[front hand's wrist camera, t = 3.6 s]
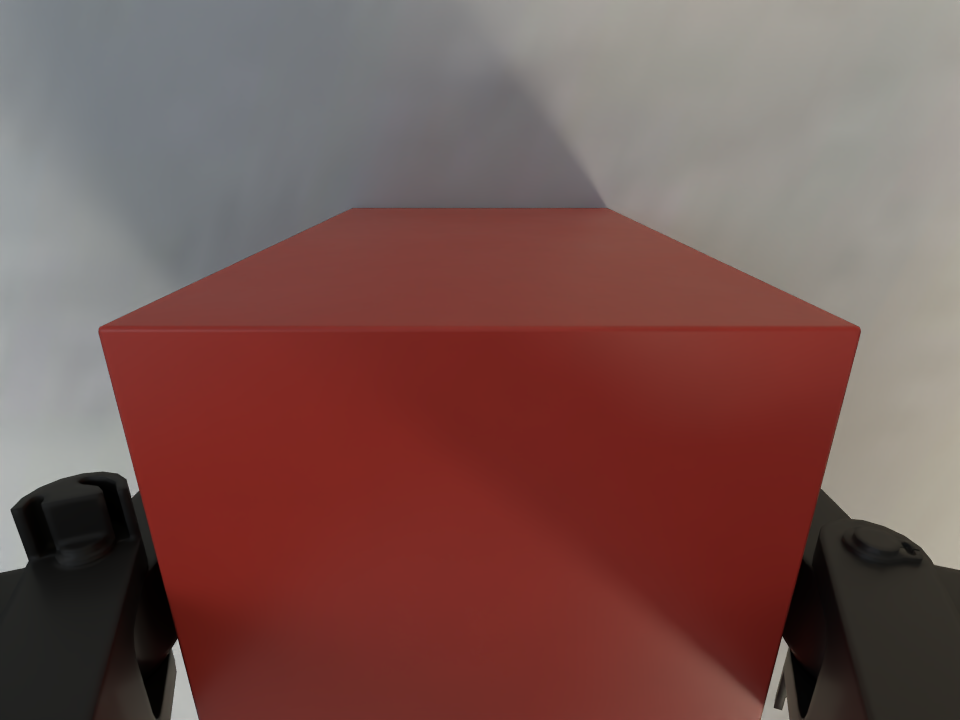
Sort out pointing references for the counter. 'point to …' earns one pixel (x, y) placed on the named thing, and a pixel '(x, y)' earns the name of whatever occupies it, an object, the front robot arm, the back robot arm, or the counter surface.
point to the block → (479, 469)
